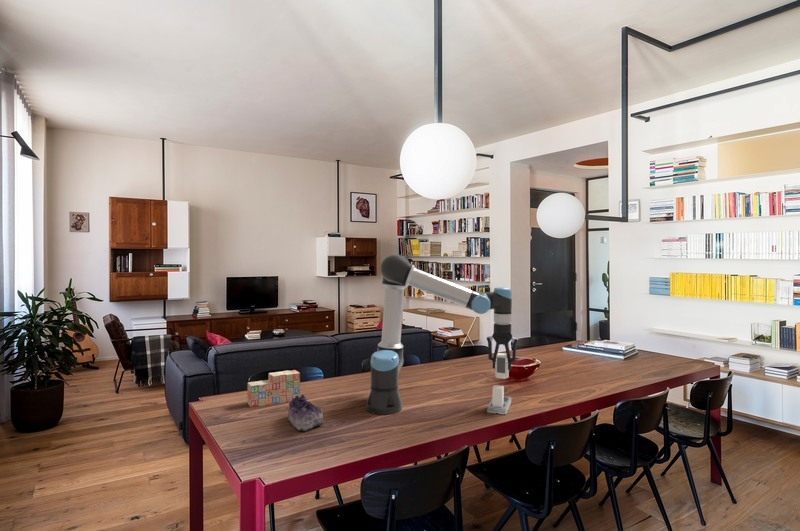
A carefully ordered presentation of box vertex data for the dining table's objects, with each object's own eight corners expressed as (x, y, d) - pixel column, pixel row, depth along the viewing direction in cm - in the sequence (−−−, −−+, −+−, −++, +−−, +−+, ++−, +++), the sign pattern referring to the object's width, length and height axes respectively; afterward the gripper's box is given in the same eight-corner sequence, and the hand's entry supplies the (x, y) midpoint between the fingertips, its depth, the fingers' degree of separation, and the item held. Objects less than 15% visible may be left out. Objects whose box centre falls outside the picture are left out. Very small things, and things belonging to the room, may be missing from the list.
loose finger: (507, 376, 207) (507, 353, 206) (505, 379, 202) (505, 356, 202) (497, 375, 208) (498, 352, 208) (496, 378, 203) (496, 355, 203)
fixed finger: (492, 411, 196) (492, 387, 196) (494, 407, 201) (494, 384, 201) (501, 412, 195) (502, 388, 195) (503, 408, 200) (504, 385, 199)
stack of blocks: (250, 407, 197) (250, 378, 197) (247, 403, 203) (247, 375, 202) (300, 400, 208) (300, 372, 208) (295, 396, 214) (295, 369, 213)
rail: (505, 414, 193) (505, 409, 193) (487, 412, 195) (487, 407, 195) (511, 401, 209) (511, 396, 209) (494, 399, 212) (494, 394, 212)
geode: (277, 418, 186) (280, 392, 187) (304, 417, 192) (307, 392, 193) (296, 433, 169) (300, 405, 170) (326, 431, 175) (329, 403, 176)
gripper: (523, 323, 205) (522, 376, 206) (484, 320, 211) (483, 372, 212) (521, 325, 198) (520, 380, 199) (481, 323, 204) (480, 376, 205)
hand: (501, 376), depth 205 cm, fingers closed on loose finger, 4 cm apart
